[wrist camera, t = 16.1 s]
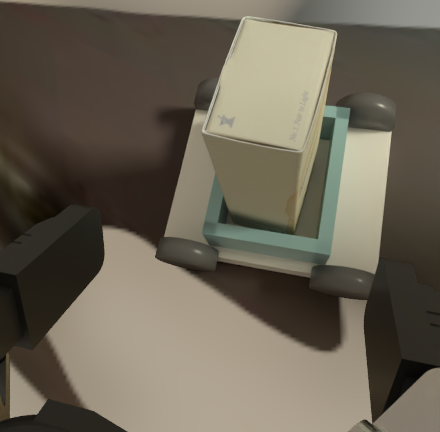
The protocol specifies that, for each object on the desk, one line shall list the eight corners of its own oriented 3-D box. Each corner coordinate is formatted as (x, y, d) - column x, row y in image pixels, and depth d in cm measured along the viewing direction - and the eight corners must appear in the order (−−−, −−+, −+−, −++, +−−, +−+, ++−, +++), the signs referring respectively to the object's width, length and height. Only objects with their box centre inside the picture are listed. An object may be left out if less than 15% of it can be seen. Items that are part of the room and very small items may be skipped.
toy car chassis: (387, 127, 30) (405, 91, 26) (369, 302, 27) (386, 293, 23) (202, 106, 33) (191, 70, 29) (163, 264, 29) (145, 249, 25)
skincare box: (293, 240, 27) (305, 161, 16) (229, 223, 28) (196, 136, 17) (316, 155, 29) (344, 28, 17) (255, 141, 30) (242, 11, 18)
